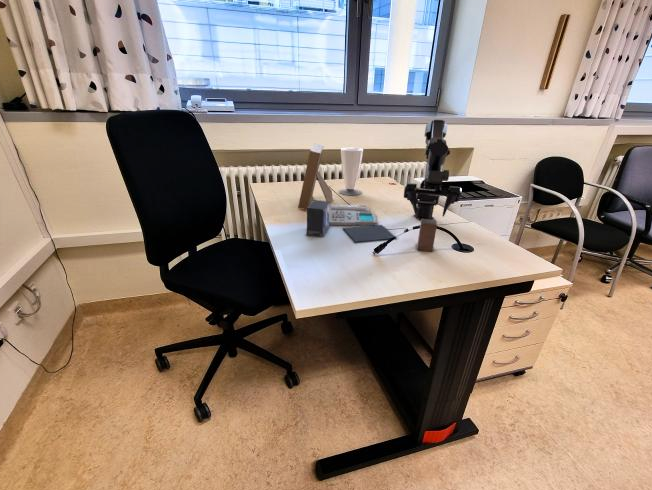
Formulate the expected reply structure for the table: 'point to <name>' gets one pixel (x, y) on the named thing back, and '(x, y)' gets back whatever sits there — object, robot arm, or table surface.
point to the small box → (317, 218)
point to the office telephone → (351, 215)
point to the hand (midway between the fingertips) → (429, 214)
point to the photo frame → (313, 178)
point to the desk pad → (368, 233)
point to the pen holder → (426, 235)
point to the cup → (351, 168)
